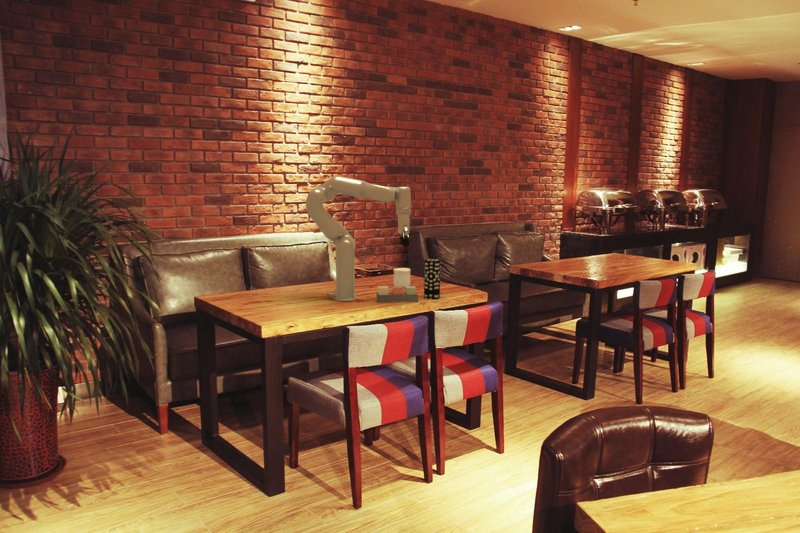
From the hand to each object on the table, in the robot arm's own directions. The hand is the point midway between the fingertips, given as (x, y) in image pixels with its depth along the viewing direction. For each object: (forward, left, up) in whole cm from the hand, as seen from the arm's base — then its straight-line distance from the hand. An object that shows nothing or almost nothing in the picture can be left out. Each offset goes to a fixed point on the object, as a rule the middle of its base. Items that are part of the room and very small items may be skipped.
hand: (404, 245), depth 327 cm
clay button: (-4, -2, -26) cm, 27 cm away
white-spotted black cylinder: (+15, +4, -29) cm, 32 cm away
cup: (+3, +38, -29) cm, 47 cm away
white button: (-11, -2, -26) cm, 28 cm away
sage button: (+3, -2, -26) cm, 27 cm away
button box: (-4, -2, -28) cm, 29 cm away
